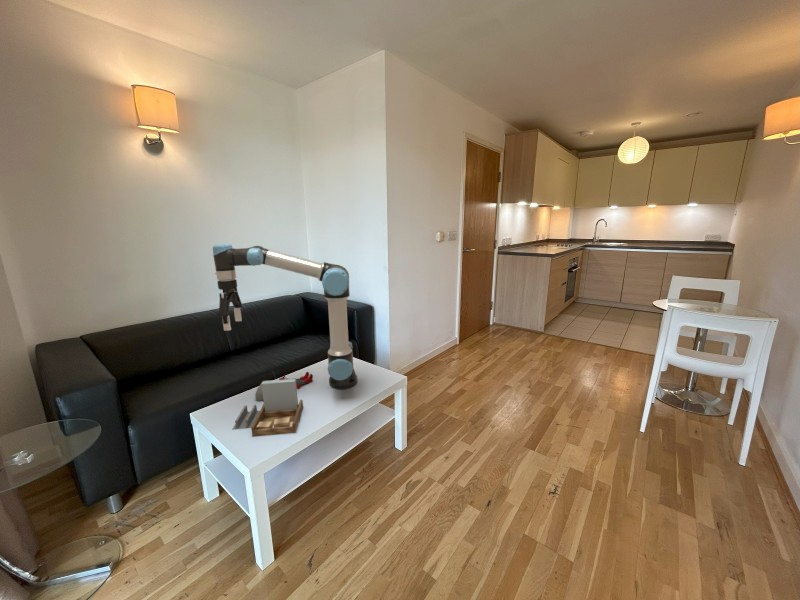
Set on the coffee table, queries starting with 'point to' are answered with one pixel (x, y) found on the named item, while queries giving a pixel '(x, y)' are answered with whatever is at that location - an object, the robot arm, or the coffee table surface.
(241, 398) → the coffee table surface
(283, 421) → the offcut
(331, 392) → the coffee table surface
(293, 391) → the grey flat slab
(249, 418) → the stand
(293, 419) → the rack
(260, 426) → the offcut
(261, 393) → the toy
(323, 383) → the coffee table surface
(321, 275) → the robot arm
